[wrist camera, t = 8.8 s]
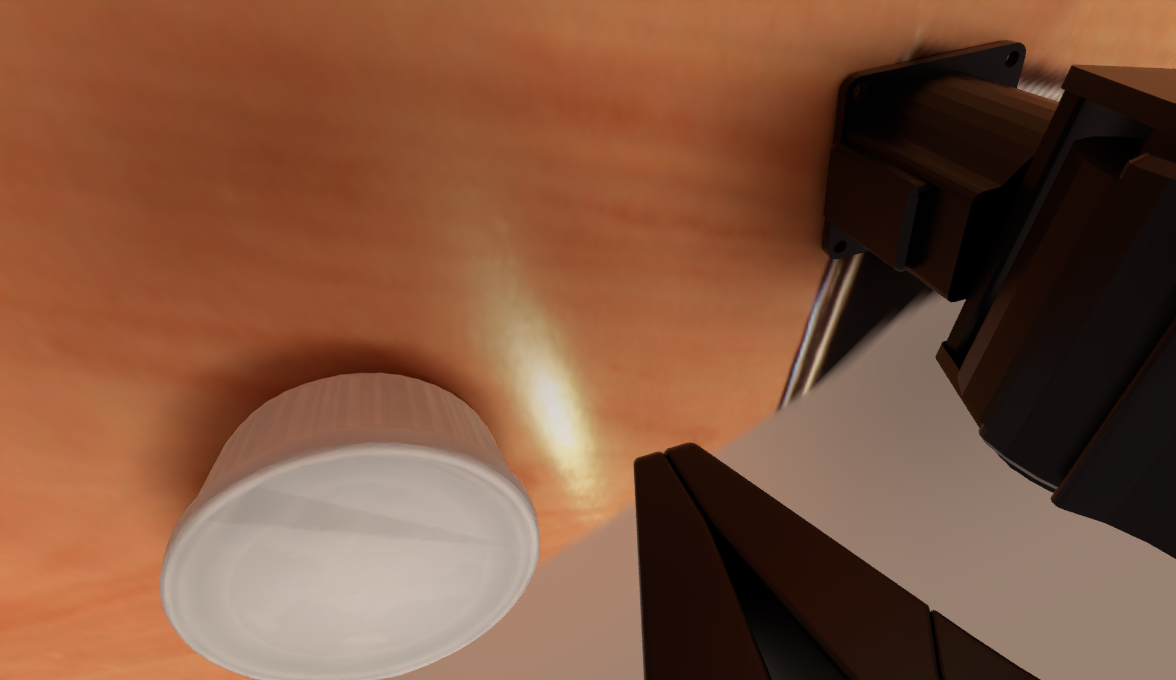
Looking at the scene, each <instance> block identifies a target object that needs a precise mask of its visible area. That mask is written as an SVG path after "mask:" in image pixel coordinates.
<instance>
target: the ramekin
mask: <svg viewBox="0 0 1176 680" xmlns="http://www.w3.org/2000/svg"><path fill="white" fill-rule="evenodd" d="M539 550H540V534H539V527H538V521H537V517H536V513H535V509H534V506H533V504H532V501H531V499H530V497H529V495H528V493H527V491H526V489H525V487H524V486H523V484H522V483H521V481H520V480H519V479H518V477H517V476H516V475H515V474H514V472H513V471H512V470H511V469H510V468H509V467H508V465H507V463H506V461H505V459H504V457H503V455H502V453H501V451H500V450H499V448H498V446H497V444H496V442H495V440H494V438H493V436H492V435H491V433H490V431H489V429H488V427H487V426H486V424H485V423H484V422H483V421H482V420H481V419H480V417H479V415H478V414H477V413H476V412H475V411H474V410H473V409H471V408H470V407H469V406H468V405H467V404H466V403H465V402H464V401H463V400H461V399H459V398H457V397H456V396H455V395H454V394H452V393H451V392H449V391H446V390H444V389H442V388H440V387H438V386H436V385H434V384H431V383H427V382H424V381H422V380H420V379H415V378H410V377H406V376H402V375H397V374H387V373H354V374H341V375H337V376H333V377H328V378H322V379H319V380H316V381H312V382H309V383H305V384H302V385H300V386H297V387H295V388H293V389H290V390H287V391H285V392H283V393H281V394H280V395H278V396H277V397H275V398H273V399H270V400H268V401H267V402H265V403H264V404H263V405H262V406H261V407H260V408H258V409H257V410H255V411H253V412H252V413H251V414H250V415H249V417H248V418H247V419H246V420H245V421H244V422H243V423H241V424H240V425H239V427H238V428H237V429H236V430H235V432H234V434H233V435H232V436H231V437H230V438H229V439H228V440H227V442H226V443H225V445H224V447H223V449H222V451H221V453H220V455H219V457H218V458H217V460H216V462H215V464H214V466H213V467H212V469H211V471H210V473H209V475H208V477H207V479H206V481H205V483H204V485H203V487H202V489H201V490H200V492H199V494H198V496H197V497H196V498H195V499H194V500H193V501H192V503H191V504H190V505H189V506H188V508H187V509H186V510H185V512H184V513H183V514H182V516H181V517H180V519H179V521H178V522H177V524H176V526H175V527H174V529H173V531H172V534H171V536H170V538H169V541H168V544H167V547H166V551H165V555H164V559H163V563H162V568H161V574H160V595H161V601H162V606H163V609H164V611H165V614H166V616H167V618H168V620H169V622H170V623H171V625H172V627H173V628H174V629H175V631H176V632H177V633H178V635H179V636H180V637H181V638H182V640H183V641H184V642H185V643H186V644H187V645H188V646H189V647H190V648H191V649H193V650H194V651H196V652H197V653H198V654H200V655H201V656H203V657H204V658H206V659H207V660H209V661H211V662H213V663H215V664H217V665H219V666H220V667H222V668H225V669H227V670H230V671H232V672H235V673H237V674H241V675H244V676H247V677H250V678H253V679H257V680H380V679H383V678H390V677H395V676H399V675H402V674H405V673H408V672H410V671H413V670H416V669H419V668H421V667H424V666H426V665H428V664H431V663H433V662H435V661H437V660H439V659H441V658H443V657H445V656H448V655H450V654H452V653H453V652H455V651H457V650H459V649H461V648H463V647H464V646H466V645H468V644H469V643H471V642H472V641H474V640H475V639H477V638H478V637H480V636H481V635H482V634H484V633H485V632H487V631H488V630H489V629H490V628H492V627H493V626H494V625H495V624H496V623H497V622H498V621H500V619H502V618H503V617H504V616H505V615H506V614H507V612H508V611H509V610H510V609H511V608H512V607H513V605H515V603H516V602H517V600H518V599H519V598H520V596H521V595H522V594H523V592H524V590H525V589H526V587H527V585H528V583H529V581H530V579H531V577H532V575H533V573H534V571H535V568H536V565H537V563H538V559H539Z"/></svg>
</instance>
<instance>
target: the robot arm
mask: <svg viewBox="0 0 1176 680" xmlns="http://www.w3.org/2000/svg"><path fill="white" fill-rule="evenodd" d="M1025 54H1026V49H1025V46H1024V45H1023V44H1022V43H1019V42H1015V41H1008V40H1006V41H1002V42H997V43H992V44H988V45H983V46H978V47H974V48H969V49H964V50H959V51H955V52H950V53H945V54H941V55H936V56H931V57H927V58H922V59H917V60H913V61H908V62H903V63H898V64H894V65H889V66H884V67H880V68H875V69H870V70H866V71H861V72H856V73H853V74H851V75H849V76H848V77H847V78H846V79H845V80H844V81H843V83H842V84H841V86H840V89H839V94H838V103H837V112H836V121H835V131H834V140H833V147H832V149H831V151H830V160H829V169H828V178H827V188H826V197H825V206H824V217H825V221H824V231H823V240H822V250H823V251H824V253H826V254H827V255H828V256H829V257H831V258H833V259H840V258H844V257H847V256H851V255H855V254H859V253H863V252H867V251H870V252H872V253H873V254H875V255H876V256H877V257H879V258H880V259H881V260H883V261H884V262H885V263H887V264H888V265H890V266H891V267H892V268H894V269H895V270H896V271H899V272H901V271H904V270H907V271H908V272H909V273H911V274H912V275H914V276H915V277H916V278H918V279H919V280H921V281H922V282H923V283H925V284H926V285H927V286H929V287H930V288H932V289H933V290H934V291H936V292H937V293H939V294H940V295H941V296H943V297H944V298H945V299H947V300H948V301H950V302H956V301H960V300H964V299H966V301H965V303H964V305H963V307H962V309H961V312H960V314H959V316H958V318H957V320H956V322H955V324H954V327H953V329H952V331H951V333H950V335H949V337H948V339H947V341H944V342H942V344H941V346H940V348H939V350H938V353H937V355H936V360H937V361H938V363H939V364H940V366H941V368H942V369H943V371H944V372H945V374H946V376H947V377H948V379H949V380H950V382H951V384H952V385H953V387H954V388H955V390H956V391H957V393H958V395H959V396H960V398H961V399H962V401H963V402H964V404H965V405H966V407H967V409H968V410H969V412H970V414H971V415H972V417H973V418H974V420H975V422H976V423H977V425H978V426H979V428H980V429H979V434H980V436H981V437H982V439H983V440H984V442H985V443H986V444H987V445H988V446H989V447H991V448H992V449H993V450H994V451H995V452H996V453H997V454H998V455H999V457H1000V458H1002V459H1003V460H1004V461H1005V462H1006V463H1007V464H1008V465H1009V467H1010V468H1012V469H1013V470H1015V471H1017V472H1018V473H1020V474H1021V475H1023V476H1024V477H1025V478H1027V479H1028V480H1030V481H1032V482H1034V483H1036V484H1037V485H1039V486H1041V487H1043V488H1045V489H1047V490H1048V491H1051V492H1053V495H1052V496H1051V501H1052V502H1053V503H1054V504H1055V505H1056V506H1057V507H1059V508H1061V509H1064V510H1067V511H1070V512H1073V513H1076V514H1079V515H1082V516H1086V517H1088V518H1092V519H1094V520H1097V521H1101V522H1103V523H1106V524H1108V525H1110V526H1113V527H1115V528H1117V529H1119V530H1121V531H1123V532H1126V533H1128V534H1130V535H1132V536H1134V537H1136V538H1138V539H1141V540H1143V541H1145V542H1147V543H1149V544H1151V545H1153V546H1154V547H1156V548H1158V549H1160V550H1161V551H1163V552H1165V553H1166V554H1168V555H1170V556H1172V557H1173V558H1175V559H1176V69H1164V68H1141V67H1118V66H1095V65H1072V66H1071V68H1070V70H1069V72H1068V74H1067V77H1066V79H1065V81H1064V83H1063V85H1062V87H1061V88H1062V89H1064V90H1065V91H1064V93H1063V95H1062V97H1061V99H1060V101H1059V102H1057V101H1054V100H1051V99H1047V98H1044V97H1041V96H1038V95H1035V94H1032V93H1029V92H1025V91H1022V90H1019V89H1017V85H1018V82H1019V78H1020V74H1021V70H1022V67H1023V63H1024V59H1025ZM1008 55H1009V57H1008V59H1007V61H1006V62H1005V60H1006V58H1007V56H1008ZM858 85H860V90H859V92H858V93H857V95H856V96H854V97H853V92H854V89H855V88H856V87H857V86H858ZM839 241H840V243H839V245H838V246H837V247H835V245H836V244H837V243H838V242H839ZM834 247H835V248H834ZM634 483H635V503H636V524H637V544H638V566H639V586H640V606H641V625H642V626H641V628H642V649H643V668H644V680H1040V679H1038V678H1037V677H1035V676H1033V675H1032V674H1030V673H1029V672H1027V671H1025V670H1024V669H1022V668H1020V667H1019V666H1017V665H1016V664H1014V663H1012V662H1011V661H1009V660H1008V659H1007V658H1005V657H1004V656H1002V655H1000V654H999V653H998V652H996V651H994V650H993V649H991V648H990V647H988V646H987V645H985V644H984V643H982V642H981V641H979V640H978V639H976V638H975V637H973V636H972V635H970V634H969V633H967V632H966V631H965V630H963V629H962V628H960V627H959V626H957V625H956V624H954V623H953V622H951V621H950V620H949V619H947V618H946V617H944V616H942V614H940V613H939V612H937V611H935V610H932V611H931V612H930V609H929V606H928V605H927V604H925V603H924V602H922V601H921V600H920V599H918V598H917V597H915V596H914V595H912V594H911V593H909V592H908V591H907V590H905V589H904V588H902V587H901V586H899V585H898V584H897V583H895V582H894V581H892V580H891V579H889V578H888V577H886V576H885V575H884V574H882V573H881V572H879V571H878V570H876V569H875V568H874V567H872V566H871V565H869V564H868V563H866V562H865V561H864V560H862V559H861V558H859V557H857V556H856V555H855V554H853V553H852V552H851V551H849V550H848V549H846V548H845V547H843V546H842V545H840V544H839V543H838V542H836V541H835V540H833V539H832V538H830V537H829V536H828V535H826V534H824V533H823V532H822V531H820V530H819V529H818V528H816V527H815V526H813V525H812V524H810V523H809V522H807V521H806V520H805V519H803V518H802V517H800V516H799V515H797V514H796V513H794V512H793V511H792V510H790V509H789V508H787V507H786V506H784V505H783V504H781V503H780V502H779V501H777V500H776V499H774V498H773V497H771V496H770V495H769V494H767V493H766V492H764V491H763V490H761V489H760V488H759V487H757V486H756V485H754V484H753V483H751V482H750V481H748V480H747V479H746V478H744V477H743V476H741V475H740V474H738V473H737V472H735V471H734V470H733V469H731V468H730V467H728V466H727V465H725V464H724V463H723V462H721V461H720V460H718V459H717V458H715V457H714V456H713V455H711V454H710V453H708V452H707V451H705V450H704V449H702V448H701V447H700V446H698V445H697V444H694V443H685V444H682V445H678V446H675V447H672V448H668V449H667V450H665V451H664V454H663V453H662V452H655V453H652V454H648V455H645V456H642V457H638V458H636V459H635V461H634Z"/></svg>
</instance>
